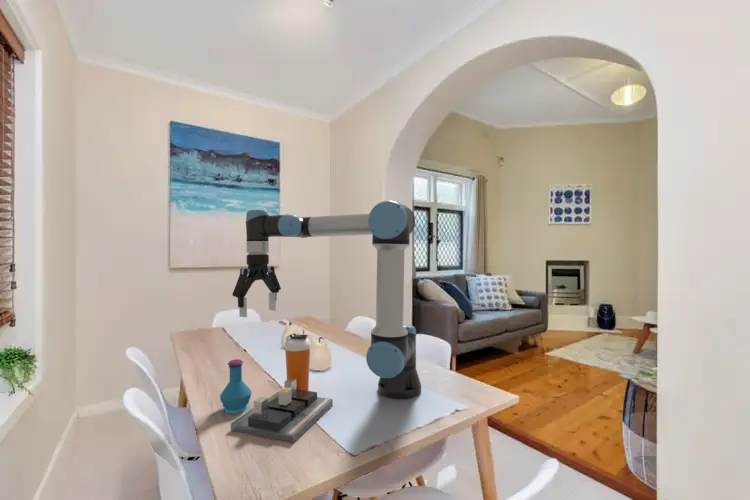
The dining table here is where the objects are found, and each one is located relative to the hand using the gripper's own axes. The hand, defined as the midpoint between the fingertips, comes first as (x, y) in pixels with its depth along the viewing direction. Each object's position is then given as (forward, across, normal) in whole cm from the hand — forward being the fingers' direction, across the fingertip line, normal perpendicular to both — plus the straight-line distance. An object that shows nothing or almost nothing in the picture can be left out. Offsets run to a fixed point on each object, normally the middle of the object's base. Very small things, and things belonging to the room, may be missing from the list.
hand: (258, 313), depth 128 cm
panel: (+27, +12, +23) cm, 37 cm away
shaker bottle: (+27, -4, +14) cm, 31 cm away
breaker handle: (+23, +12, +23) cm, 34 cm away
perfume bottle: (+27, +14, +5) cm, 31 cm away
